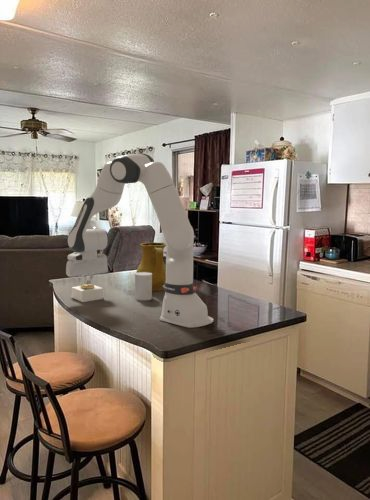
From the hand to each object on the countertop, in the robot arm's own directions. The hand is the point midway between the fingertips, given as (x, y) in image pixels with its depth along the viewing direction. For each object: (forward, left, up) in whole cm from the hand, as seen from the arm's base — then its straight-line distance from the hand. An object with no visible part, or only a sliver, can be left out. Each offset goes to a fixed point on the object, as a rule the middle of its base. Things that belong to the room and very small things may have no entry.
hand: (87, 283), depth 188 cm
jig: (0, 0, -7) cm, 7 cm away
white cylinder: (-16, -21, -7) cm, 27 cm away
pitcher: (-3, -36, -7) cm, 37 cm away
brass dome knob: (0, 0, -6) cm, 6 cm away
